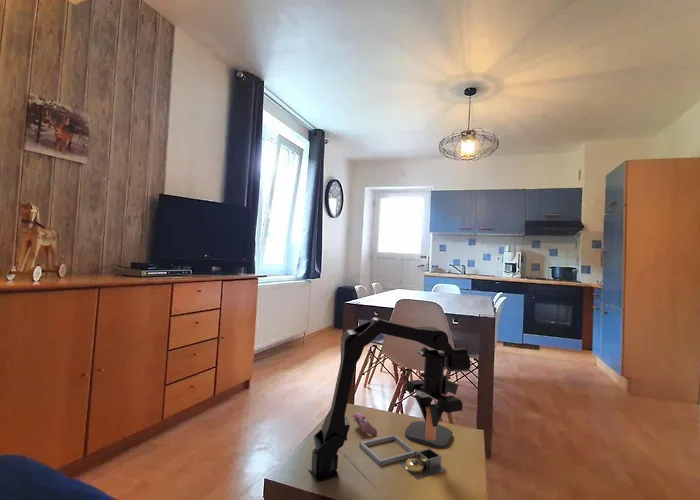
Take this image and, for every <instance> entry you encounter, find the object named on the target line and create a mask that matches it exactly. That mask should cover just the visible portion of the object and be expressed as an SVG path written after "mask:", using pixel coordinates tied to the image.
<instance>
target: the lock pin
mask: <svg viewBox="0 0 700 500" xmlns="http://www.w3.org/2000/svg"><path fill="white" fill-rule="evenodd" d="M426 411H427V412H426V421H425V422H426V430H425V438H426V439H428V440H435V438H436V427H433V424H432V418H431V411H430V405H428V406H426Z"/></svg>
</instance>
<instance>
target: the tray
mask: <svg viewBox="0 0 700 500" xmlns="http://www.w3.org/2000/svg"><path fill="white" fill-rule="evenodd" d="M391 441H394V442H395V443H397V444H398V445H399V446H401V447H402V448H403V449H405V450H406V451H407V452H404V453H401V454H396V455H392V456H389V457H385V458H380V457H379V456H378V455H377V454H375V452H373V451H372V449H370V448H369V446H373V445H374V446H375V445H377V444H378V445H379V444H381V443H386V442H391ZM358 446H359V448H360V449H362V451H364V453H366V454H367V455H368V456H369V457H370V459H372V460H373V461H374V462H375V463H377V465H378V466H384V465H388V464H391V463H394V462H400V461H404V460H408V459H411V458H415V457H417V452H418V451H416V450H415V449H414V448H412V447H411V446H410V445H409V444H407V443H406V442H405V441H403V440H402V439H401V438H399V436H397V435H396V434H391V435H387V436H382V437H378V438H377V437H376V438H374V439H369V440H364V441H359V445H358Z"/></svg>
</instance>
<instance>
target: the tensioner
mask: <svg viewBox="0 0 700 500" xmlns="http://www.w3.org/2000/svg"><path fill="white" fill-rule="evenodd" d="M397 463H398V465H399V466H401V467H402V468H404V470H406V471H407V472H408V473H409V474H411V476H413V477H414V478H415V479H416V480H421V479H423V478H424V479H425V478H427V477H430V476H433V475H436V474H440V473H443V472H447V471H448V469H447V468H445V467H443V466H442V465H441V464H442V455H440V454H439V453H437V452H436V451H435V450H434V449H432V448H425V449H420V450H418V451H417V456H414V457H410V458H407V459H404V460H400V461H397Z"/></svg>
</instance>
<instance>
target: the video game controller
mask: <svg viewBox="0 0 700 500" xmlns="http://www.w3.org/2000/svg"><path fill="white" fill-rule="evenodd" d="M352 417H353V422H354V423H356V424H357V426H358V428H359V430H361V432H362V433H363V434H368V435H370V436H371V437H372V436H373V437H375V436H377V435H378V431H377V429H376V428H375V427H374V426H373V425H372V424H371V423H370V422H369V419H367V417H366V415H365V414H364V413H360V412H356V413H354V414H353V416H352Z"/></svg>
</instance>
